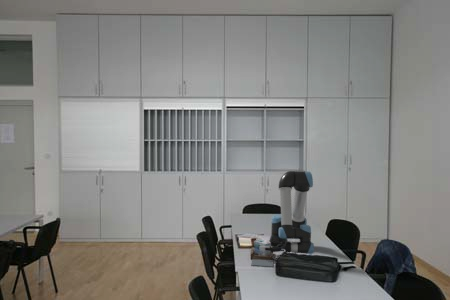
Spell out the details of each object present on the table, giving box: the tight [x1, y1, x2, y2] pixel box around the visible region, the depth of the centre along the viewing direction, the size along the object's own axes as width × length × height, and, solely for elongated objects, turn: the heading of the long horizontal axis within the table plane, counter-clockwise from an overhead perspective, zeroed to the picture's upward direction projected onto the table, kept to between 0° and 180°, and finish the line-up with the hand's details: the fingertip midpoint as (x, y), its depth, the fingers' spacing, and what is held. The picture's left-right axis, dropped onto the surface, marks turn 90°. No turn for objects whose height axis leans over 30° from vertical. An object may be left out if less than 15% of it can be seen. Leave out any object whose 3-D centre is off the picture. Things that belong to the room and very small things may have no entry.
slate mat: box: [250, 259, 274, 268], centre depth 230 cm, size 12×14×1 cm
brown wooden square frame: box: [250, 246, 274, 261], centre depth 245 cm, size 16×16×4 cm
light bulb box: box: [253, 239, 272, 256], centre depth 245 cm, size 11×7×11 cm, turn 45°
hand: (260, 245), depth 244 cm, fingers open, 13 cm apart
